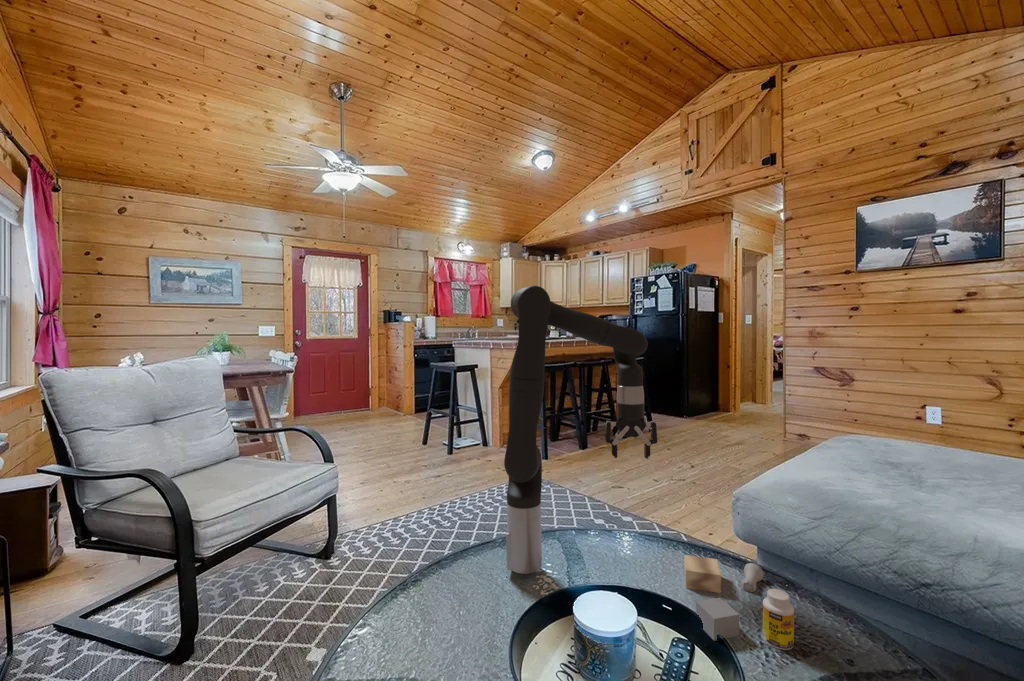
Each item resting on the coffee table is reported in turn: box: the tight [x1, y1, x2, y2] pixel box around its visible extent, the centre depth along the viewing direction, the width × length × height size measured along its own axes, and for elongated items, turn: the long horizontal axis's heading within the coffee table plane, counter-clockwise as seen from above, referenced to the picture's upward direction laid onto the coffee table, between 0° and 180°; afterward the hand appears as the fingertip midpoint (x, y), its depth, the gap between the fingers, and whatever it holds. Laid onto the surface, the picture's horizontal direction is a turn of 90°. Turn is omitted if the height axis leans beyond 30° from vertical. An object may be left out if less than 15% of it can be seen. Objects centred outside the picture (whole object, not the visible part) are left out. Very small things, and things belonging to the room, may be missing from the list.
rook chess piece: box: [741, 562, 765, 593], centre depth 112 cm, size 4×4×8 cm
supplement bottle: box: [762, 588, 795, 651], centre depth 92 cm, size 6×6×10 cm
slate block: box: [695, 597, 740, 641], centre depth 96 cm, size 6×6×5 cm
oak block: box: [683, 554, 722, 594], centre depth 113 cm, size 8×8×5 cm
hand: (630, 457), depth 127 cm, fingers open, 8 cm apart
